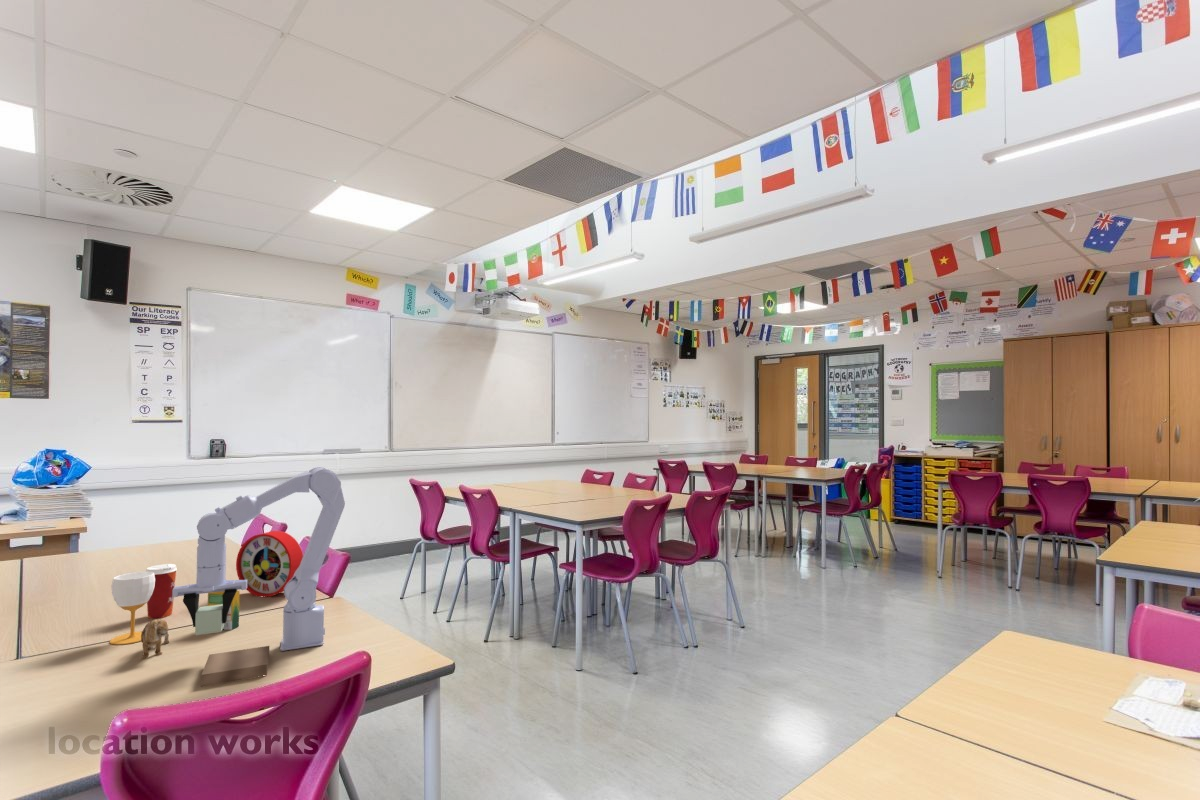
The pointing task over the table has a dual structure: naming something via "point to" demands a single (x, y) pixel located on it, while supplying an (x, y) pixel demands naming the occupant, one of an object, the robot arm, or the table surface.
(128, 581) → the cup
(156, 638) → the tan animal figurine
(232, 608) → the crayon box
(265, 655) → the walnut block
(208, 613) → the sage cube
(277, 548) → the toy clock
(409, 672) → the table surface
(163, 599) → the paper cup
